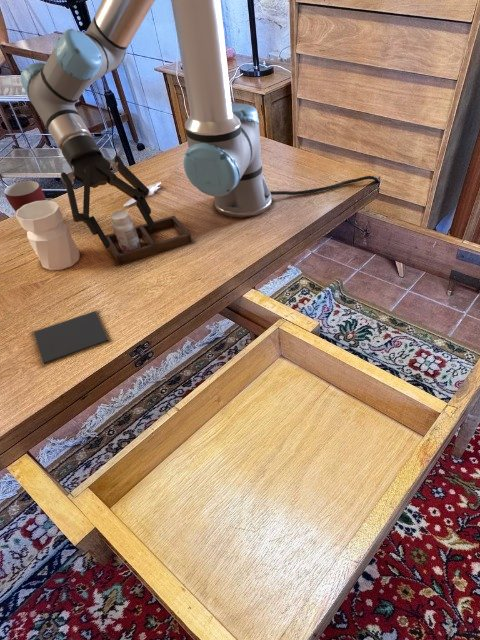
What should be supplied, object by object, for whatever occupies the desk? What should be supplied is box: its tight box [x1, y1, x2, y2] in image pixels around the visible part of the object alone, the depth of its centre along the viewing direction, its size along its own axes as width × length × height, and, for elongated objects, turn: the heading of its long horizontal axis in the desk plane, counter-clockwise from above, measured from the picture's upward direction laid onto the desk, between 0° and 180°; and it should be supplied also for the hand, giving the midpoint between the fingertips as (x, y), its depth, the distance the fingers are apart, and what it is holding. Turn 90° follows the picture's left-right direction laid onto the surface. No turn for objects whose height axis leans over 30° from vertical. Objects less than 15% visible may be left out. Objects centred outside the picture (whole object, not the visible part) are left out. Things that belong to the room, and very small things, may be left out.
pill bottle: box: [110, 209, 142, 253], centre depth 103 cm, size 5×5×8 cm
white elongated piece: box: [122, 181, 162, 207], centre depth 122 cm, size 15×3×2 cm, turn 150°
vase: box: [15, 199, 81, 271], centre depth 99 cm, size 9×9×12 cm
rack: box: [105, 215, 193, 266], centre depth 107 cm, size 18×11×2 cm, turn 121°
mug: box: [3, 180, 47, 213], centre depth 109 cm, size 11×8×10 cm
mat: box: [33, 310, 110, 365], centre depth 86 cm, size 12×10×1 cm
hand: (131, 237), depth 101 cm, fingers open, 11 cm apart
